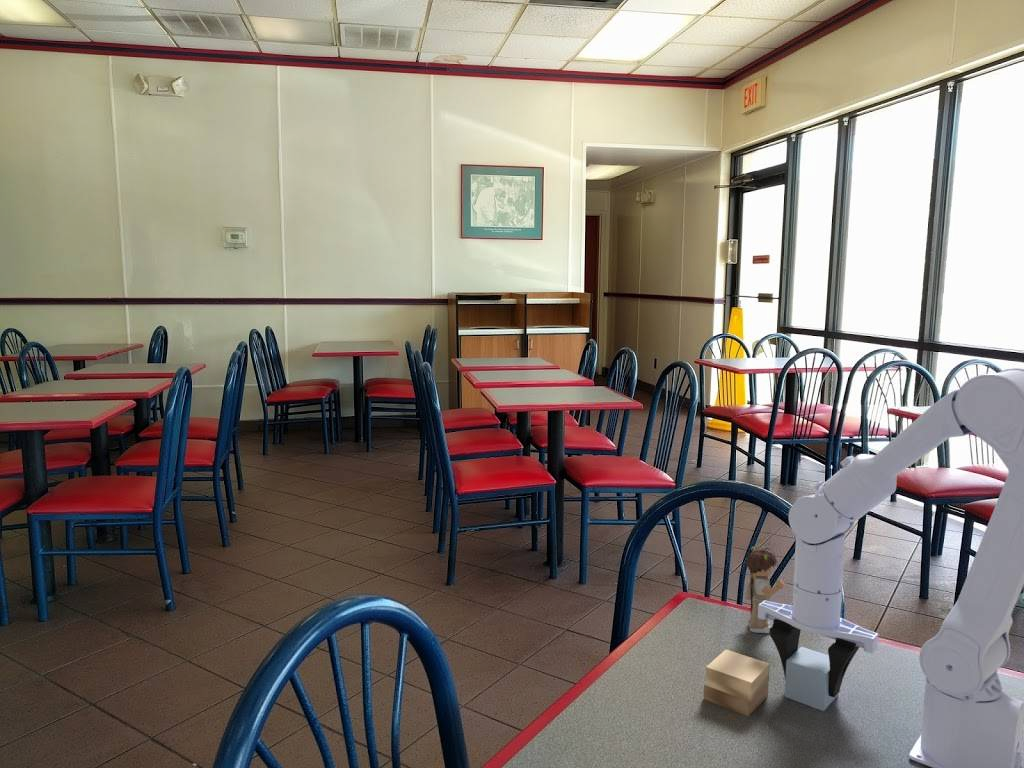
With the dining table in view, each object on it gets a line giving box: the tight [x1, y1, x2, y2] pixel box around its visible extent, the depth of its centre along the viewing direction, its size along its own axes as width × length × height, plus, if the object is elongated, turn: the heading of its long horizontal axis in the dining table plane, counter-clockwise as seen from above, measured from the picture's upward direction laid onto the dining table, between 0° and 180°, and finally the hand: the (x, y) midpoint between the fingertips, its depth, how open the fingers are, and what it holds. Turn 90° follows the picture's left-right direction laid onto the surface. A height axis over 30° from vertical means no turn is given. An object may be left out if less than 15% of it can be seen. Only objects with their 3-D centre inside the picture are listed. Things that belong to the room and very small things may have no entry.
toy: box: [744, 539, 786, 634], centre depth 115 cm, size 6×6×15 cm
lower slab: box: [703, 681, 770, 717], centre depth 96 cm, size 6×6×2 cm
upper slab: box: [704, 649, 771, 702], centre depth 96 cm, size 6×6×2 cm
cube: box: [784, 646, 839, 712], centre depth 96 cm, size 5×5×5 cm
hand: (811, 685), depth 96 cm, fingers closed on cube, 5 cm apart
